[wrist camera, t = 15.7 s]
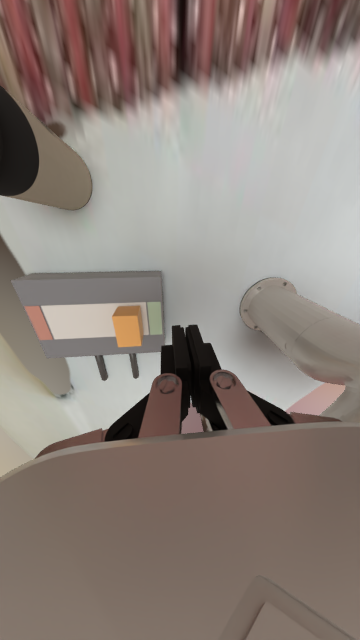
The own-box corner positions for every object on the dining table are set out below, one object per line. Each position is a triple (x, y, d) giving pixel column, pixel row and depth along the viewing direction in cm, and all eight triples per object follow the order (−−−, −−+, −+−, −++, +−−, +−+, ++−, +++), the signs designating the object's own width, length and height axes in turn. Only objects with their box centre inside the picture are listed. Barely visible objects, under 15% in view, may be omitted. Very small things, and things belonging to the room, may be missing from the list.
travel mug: (77, 221, 29) (-28, 211, 13) (26, 181, 26) (-189, 103, 10) (102, 177, 27) (11, 100, 11) (50, 127, 24) (-183, -83, 8)
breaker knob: (140, 305, 31) (137, 315, 27) (143, 333, 34) (141, 346, 30) (117, 306, 31) (111, 316, 27) (123, 334, 33) (118, 347, 30)
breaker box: (161, 270, 34) (160, 277, 29) (166, 373, 47) (166, 389, 42) (31, 273, 32) (10, 280, 27) (74, 379, 45) (64, 396, 40)
